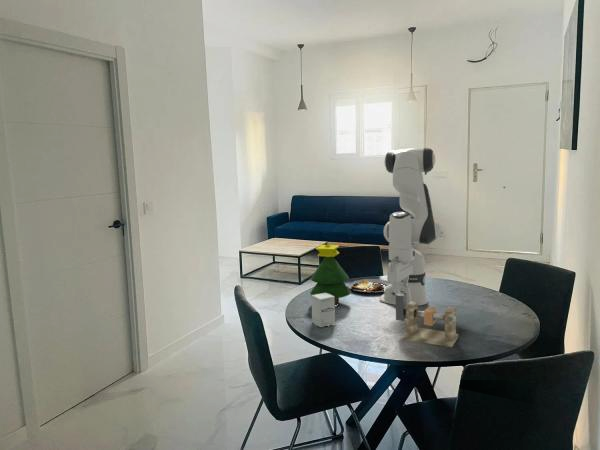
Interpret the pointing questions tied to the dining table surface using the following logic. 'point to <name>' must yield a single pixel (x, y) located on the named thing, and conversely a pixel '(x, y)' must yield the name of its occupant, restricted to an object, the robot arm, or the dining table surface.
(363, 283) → the food plate
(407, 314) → the shaft stand
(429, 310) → the spacer
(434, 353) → the dining table surface
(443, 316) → the shaft
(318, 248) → the decorative tree
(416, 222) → the robot arm
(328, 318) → the supplement box
